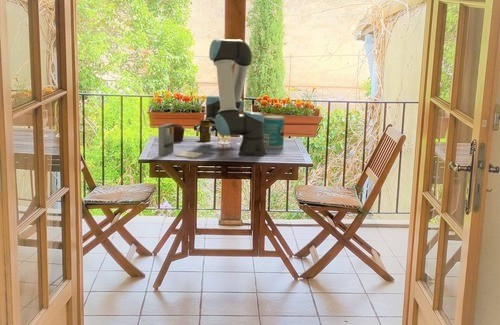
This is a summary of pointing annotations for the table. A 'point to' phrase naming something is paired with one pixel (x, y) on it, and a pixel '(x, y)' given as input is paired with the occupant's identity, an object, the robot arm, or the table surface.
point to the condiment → (205, 131)
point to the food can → (273, 131)
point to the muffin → (178, 133)
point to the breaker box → (166, 139)
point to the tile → (189, 154)
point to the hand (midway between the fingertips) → (203, 130)
